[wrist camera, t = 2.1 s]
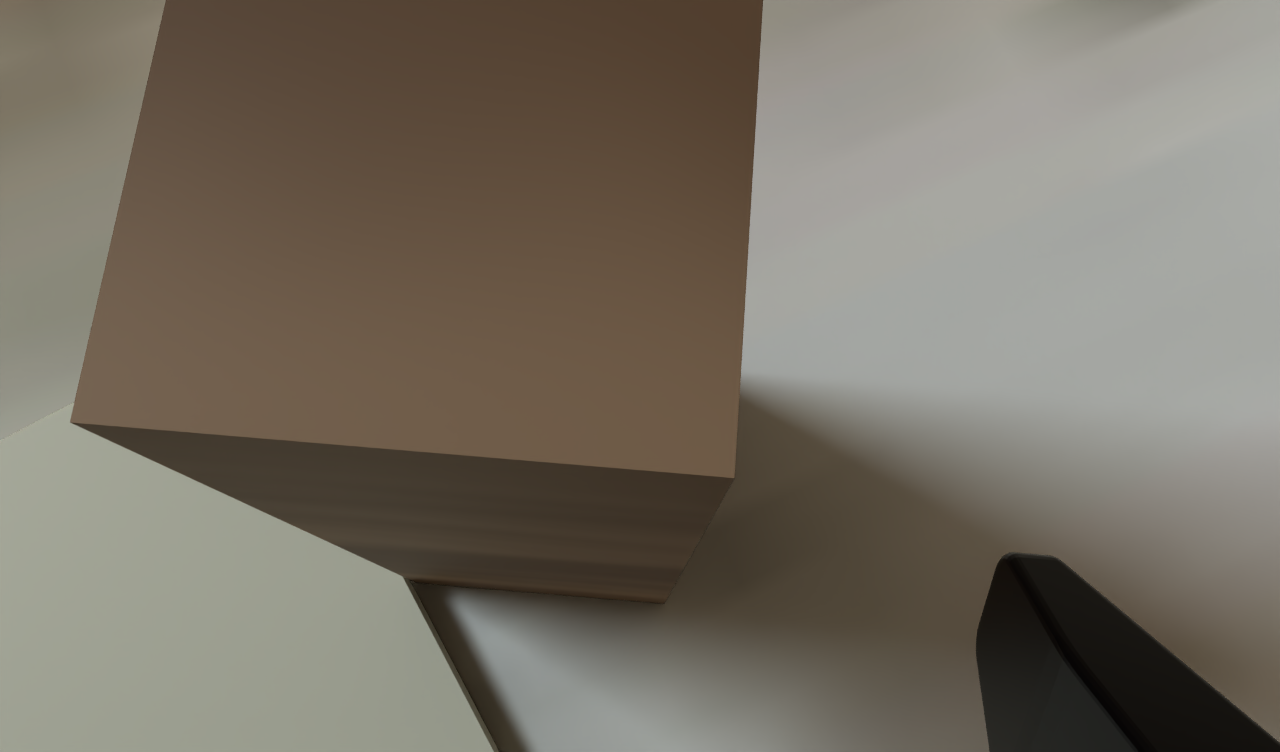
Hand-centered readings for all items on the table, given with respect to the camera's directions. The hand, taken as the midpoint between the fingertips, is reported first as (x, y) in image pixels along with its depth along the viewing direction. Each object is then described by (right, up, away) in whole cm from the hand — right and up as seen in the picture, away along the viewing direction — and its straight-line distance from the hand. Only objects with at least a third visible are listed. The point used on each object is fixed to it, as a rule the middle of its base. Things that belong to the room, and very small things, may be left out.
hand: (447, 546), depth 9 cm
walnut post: (0, 0, +10) cm, 10 cm away
